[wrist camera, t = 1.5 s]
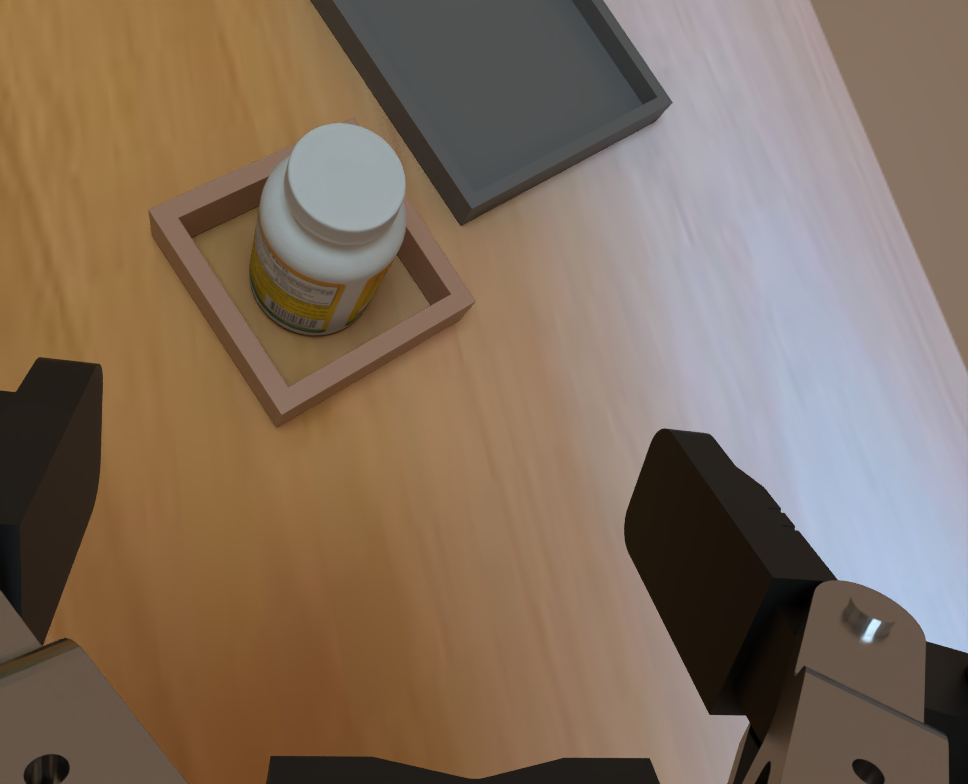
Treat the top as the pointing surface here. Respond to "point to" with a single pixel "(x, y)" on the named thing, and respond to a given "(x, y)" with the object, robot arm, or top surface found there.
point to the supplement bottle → (327, 229)
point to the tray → (498, 87)
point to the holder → (281, 402)
